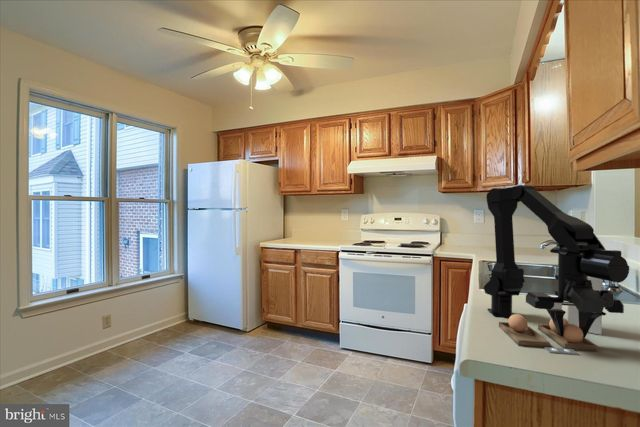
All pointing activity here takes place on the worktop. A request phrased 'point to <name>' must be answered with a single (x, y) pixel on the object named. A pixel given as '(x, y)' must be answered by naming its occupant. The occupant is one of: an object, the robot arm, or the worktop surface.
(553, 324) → the ball
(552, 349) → the card
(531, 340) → the trough
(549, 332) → the trough
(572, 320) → the milk carton
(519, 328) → the ball
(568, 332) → the ball
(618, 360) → the worktop surface
